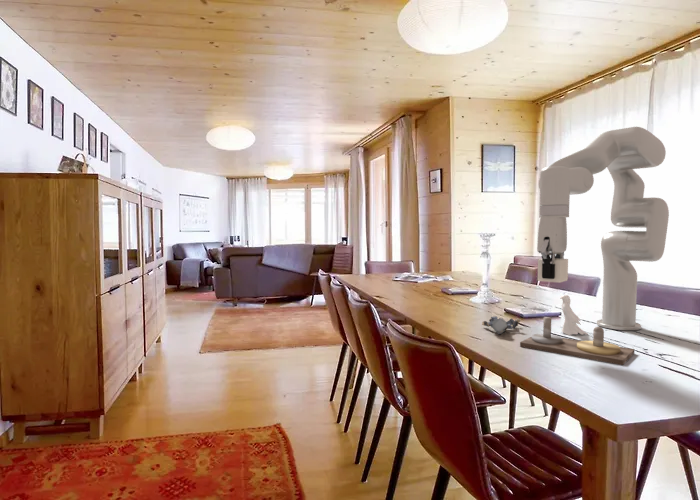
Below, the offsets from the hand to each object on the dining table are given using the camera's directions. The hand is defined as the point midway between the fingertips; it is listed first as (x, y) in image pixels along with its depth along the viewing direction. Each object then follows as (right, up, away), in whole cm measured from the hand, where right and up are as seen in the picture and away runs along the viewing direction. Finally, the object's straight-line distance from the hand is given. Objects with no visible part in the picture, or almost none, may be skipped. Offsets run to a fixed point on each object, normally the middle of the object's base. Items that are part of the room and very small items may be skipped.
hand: (552, 276), depth 125 cm
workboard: (+5, -20, -3) cm, 20 cm away
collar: (0, -1, 0) cm, 1 cm away
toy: (-8, -19, +19) cm, 28 cm away
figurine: (+13, -19, +15) cm, 27 cm away
